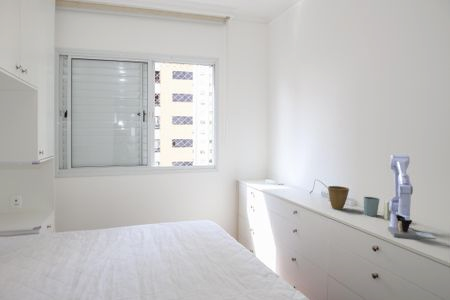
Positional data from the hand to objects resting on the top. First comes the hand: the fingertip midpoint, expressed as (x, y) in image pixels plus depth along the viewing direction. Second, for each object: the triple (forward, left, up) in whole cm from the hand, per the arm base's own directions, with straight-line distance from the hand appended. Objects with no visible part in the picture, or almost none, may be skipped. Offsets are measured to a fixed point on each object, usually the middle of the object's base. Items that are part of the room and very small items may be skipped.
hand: (402, 229), depth 180 cm
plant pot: (-56, -30, -3) cm, 64 cm away
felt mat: (-2, +11, -3) cm, 11 cm away
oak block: (0, 0, -3) cm, 3 cm away
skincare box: (-35, +1, -3) cm, 35 cm away
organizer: (0, 0, -3) cm, 3 cm away
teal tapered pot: (-44, -9, -3) cm, 45 cm away
